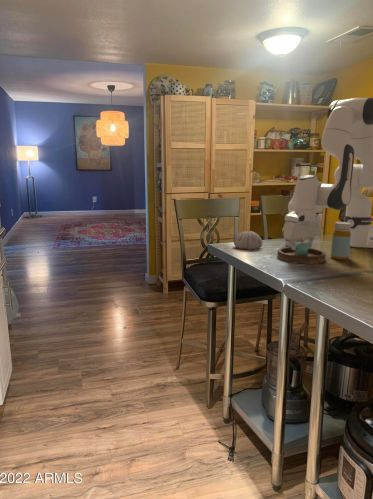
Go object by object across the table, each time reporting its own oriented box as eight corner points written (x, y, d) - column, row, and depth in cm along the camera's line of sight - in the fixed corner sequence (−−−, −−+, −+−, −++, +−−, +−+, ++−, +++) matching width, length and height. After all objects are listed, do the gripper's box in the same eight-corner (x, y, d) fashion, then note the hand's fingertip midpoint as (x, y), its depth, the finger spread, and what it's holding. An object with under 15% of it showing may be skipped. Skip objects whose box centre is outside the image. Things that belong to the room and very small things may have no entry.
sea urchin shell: (264, 251, 172) (265, 234, 170) (234, 250, 173) (234, 233, 171) (260, 245, 185) (261, 229, 183) (232, 244, 186) (233, 228, 184)
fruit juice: (292, 248, 179) (296, 187, 173) (281, 244, 188) (285, 186, 182) (309, 246, 182) (314, 187, 176) (297, 243, 191) (301, 186, 185)
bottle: (347, 260, 156) (351, 224, 153) (329, 258, 160) (332, 223, 156) (349, 257, 162) (353, 222, 159) (331, 255, 166) (335, 221, 162)
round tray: (296, 251, 173) (297, 245, 172) (334, 259, 158) (334, 253, 157) (268, 256, 162) (268, 250, 161) (305, 266, 147) (306, 259, 146)
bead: (299, 254, 163) (300, 241, 162) (310, 256, 159) (311, 243, 158) (292, 255, 160) (293, 242, 159) (302, 258, 156) (303, 245, 155)
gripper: (313, 213, 165) (310, 244, 168) (281, 216, 153) (279, 250, 156) (326, 214, 160) (323, 247, 163) (294, 218, 148) (292, 253, 151)
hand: (301, 248), depth 159 cm, fingers open, 8 cm apart
